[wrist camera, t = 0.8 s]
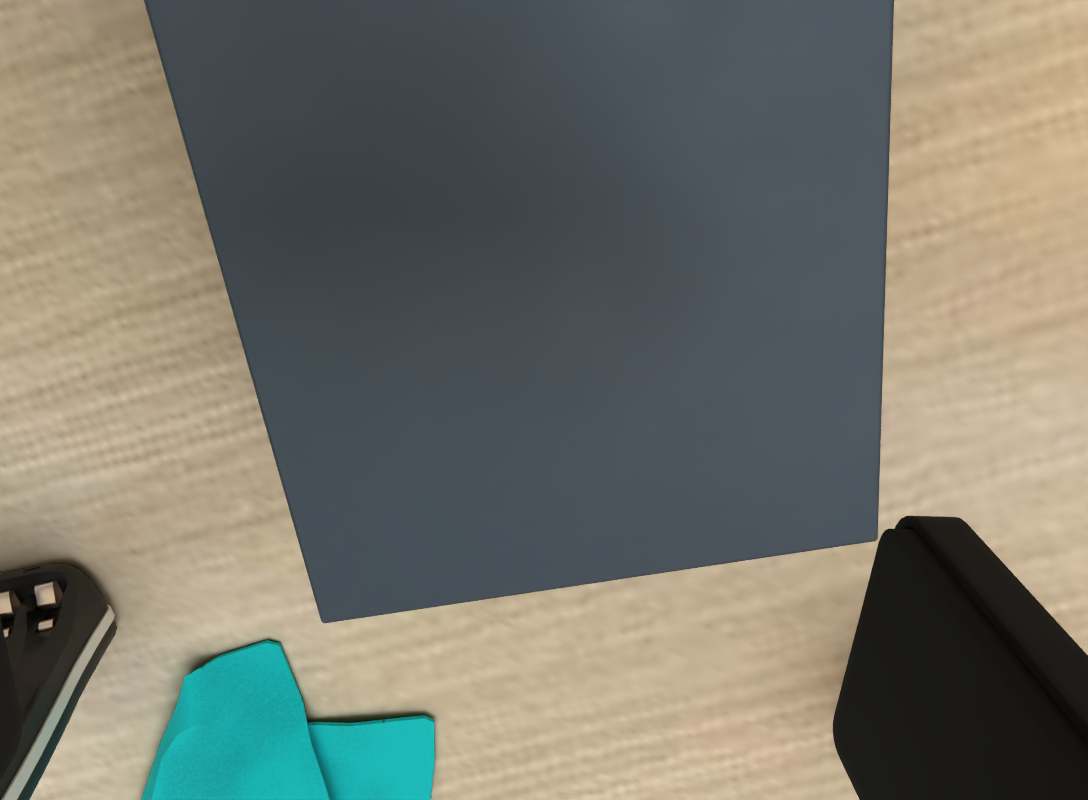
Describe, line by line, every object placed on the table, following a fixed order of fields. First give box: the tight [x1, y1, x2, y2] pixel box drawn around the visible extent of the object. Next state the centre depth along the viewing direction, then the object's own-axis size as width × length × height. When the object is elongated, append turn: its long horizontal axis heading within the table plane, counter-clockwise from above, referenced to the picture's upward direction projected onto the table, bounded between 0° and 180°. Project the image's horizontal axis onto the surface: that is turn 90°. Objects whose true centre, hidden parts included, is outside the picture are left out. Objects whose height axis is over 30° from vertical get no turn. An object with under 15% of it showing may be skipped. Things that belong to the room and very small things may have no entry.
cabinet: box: [144, 0, 894, 623], centre depth 22 cm, size 15×13×9 cm
